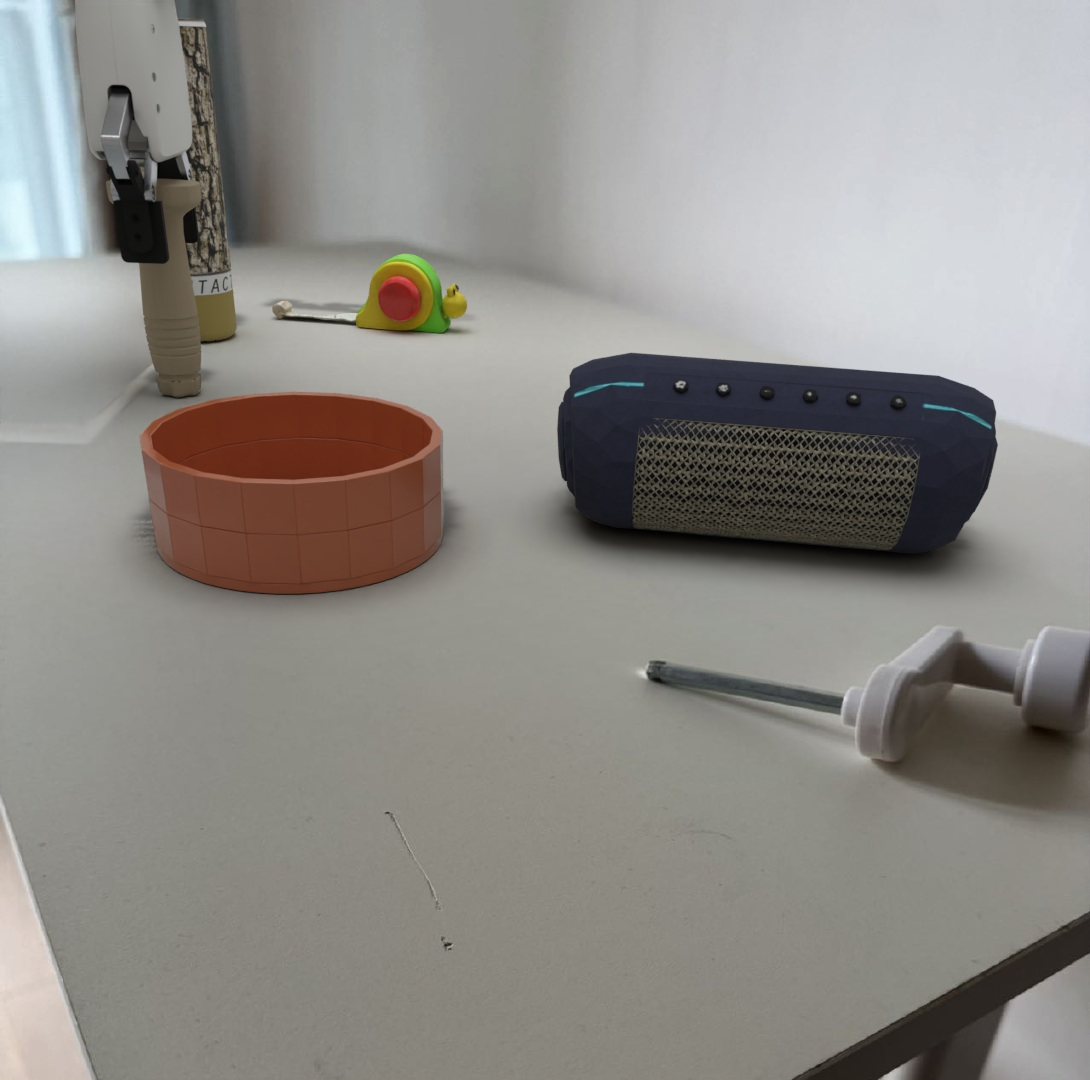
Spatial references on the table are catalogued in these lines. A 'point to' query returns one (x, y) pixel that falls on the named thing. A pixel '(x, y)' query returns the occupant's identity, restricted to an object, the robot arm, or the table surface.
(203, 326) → the paper tube
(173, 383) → the handle
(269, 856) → the table surface
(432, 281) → the toy measuring tape
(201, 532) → the bowl
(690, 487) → the portable speaker
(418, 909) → the table surface
